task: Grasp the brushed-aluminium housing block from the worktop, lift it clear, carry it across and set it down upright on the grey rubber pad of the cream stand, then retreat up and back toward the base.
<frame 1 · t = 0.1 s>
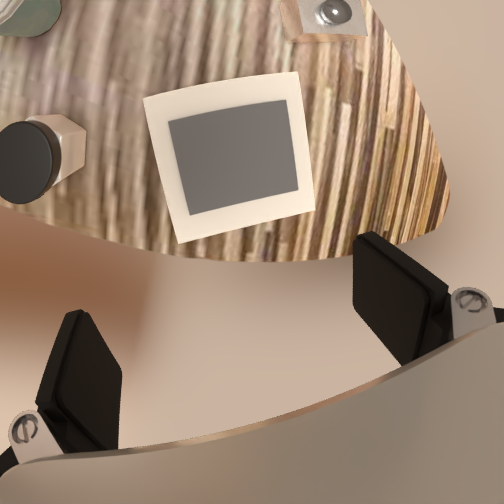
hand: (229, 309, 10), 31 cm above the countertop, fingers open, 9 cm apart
housing: (313, 23, 32), on the countertop
disposable coffee cup: (39, 17, 23), on the countertop
jar: (59, 148, 32), on the countertop
stand: (224, 147, 38), on the countertop
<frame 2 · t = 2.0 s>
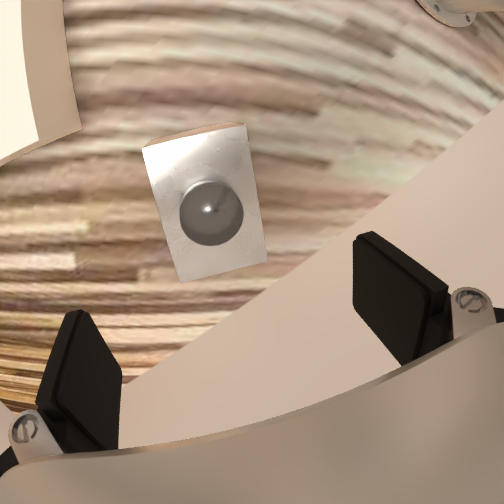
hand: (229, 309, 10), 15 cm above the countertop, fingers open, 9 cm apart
housing: (202, 185, 24), on the countertop
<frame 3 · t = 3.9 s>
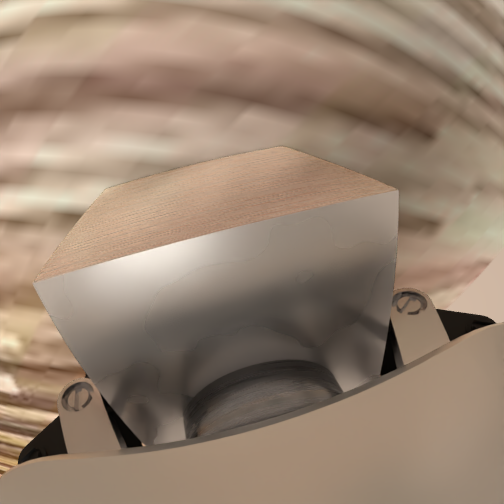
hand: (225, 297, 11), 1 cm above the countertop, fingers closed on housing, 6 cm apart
housing: (221, 282, 12), on the countertop, touching gripper
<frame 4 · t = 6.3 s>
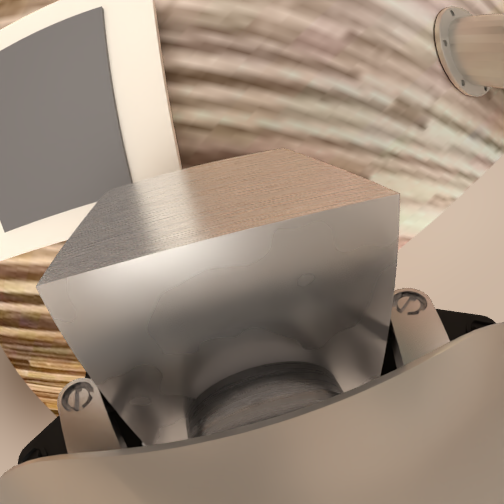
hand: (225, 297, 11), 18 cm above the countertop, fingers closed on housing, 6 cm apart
housing: (222, 284, 12), point 17 cm above the countertop, touching gripper
stand: (78, 117, 21), on the countertop
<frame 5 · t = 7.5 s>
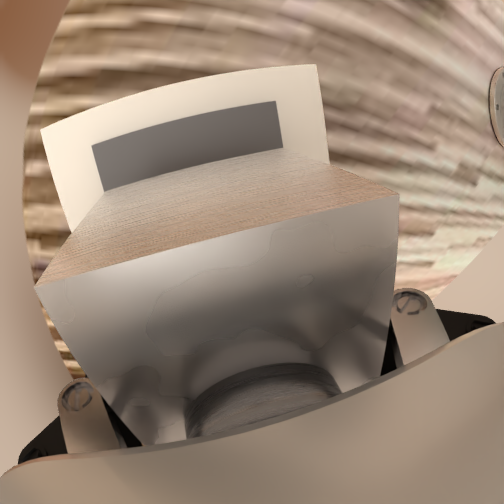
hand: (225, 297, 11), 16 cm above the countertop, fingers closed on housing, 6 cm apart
housing: (221, 284, 12), point 15 cm above the countertop, touching gripper
stand: (196, 188, 25), on the countertop
when the fingers open (10 cm above the countertop, at t = 8.8 s): housing stays where it is, resting on stand.
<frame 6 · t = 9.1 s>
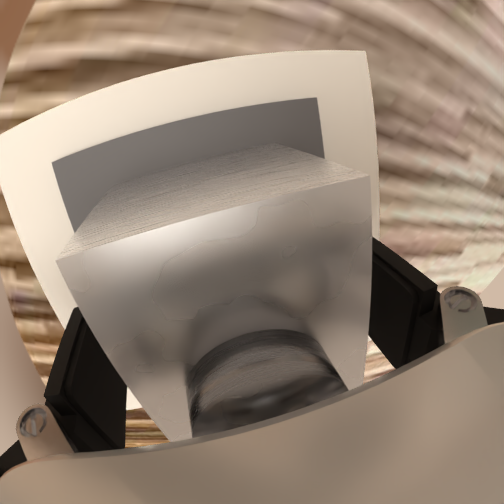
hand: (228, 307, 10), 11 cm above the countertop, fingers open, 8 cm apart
housing: (221, 271, 12), point 9 cm above the countertop, touching stand
stand: (199, 208, 20), on the countertop
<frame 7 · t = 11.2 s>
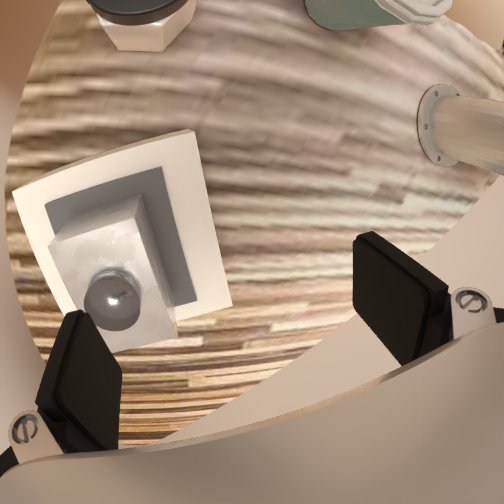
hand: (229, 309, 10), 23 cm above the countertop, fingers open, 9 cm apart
housing: (123, 256, 23), point 9 cm above the countertop, touching stand
disposable coffee cup: (327, 5, 26), on the countertop
jar: (148, 18, 22), on the countertop
stand: (130, 221, 31), on the countertop
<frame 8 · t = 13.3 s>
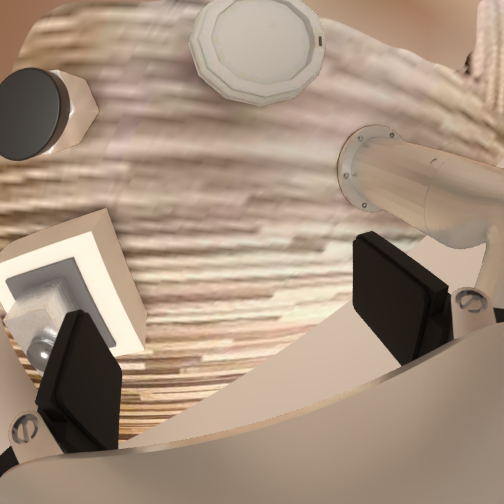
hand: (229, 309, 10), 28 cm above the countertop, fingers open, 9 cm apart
housing: (59, 315, 29), point 9 cm above the countertop, touching stand
disposable coffee cup: (229, 66, 31), on the countertop
jar: (65, 112, 28), on the countertop
stand: (75, 278, 37), on the countertop
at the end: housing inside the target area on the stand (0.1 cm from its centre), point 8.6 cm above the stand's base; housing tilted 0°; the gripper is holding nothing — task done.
